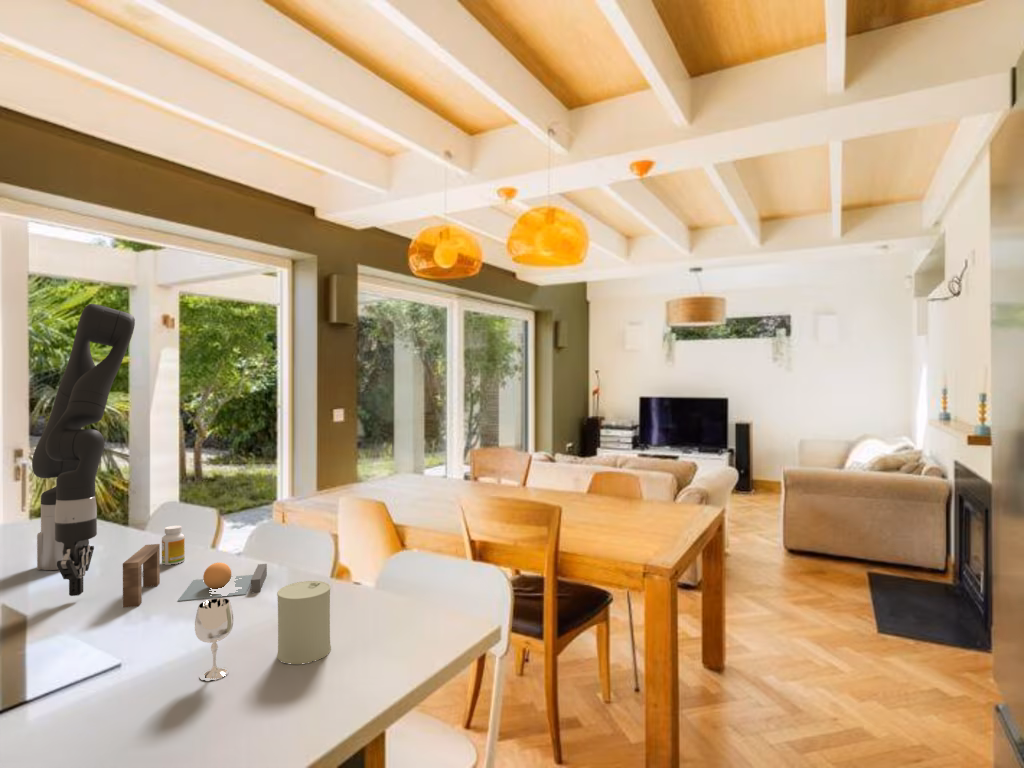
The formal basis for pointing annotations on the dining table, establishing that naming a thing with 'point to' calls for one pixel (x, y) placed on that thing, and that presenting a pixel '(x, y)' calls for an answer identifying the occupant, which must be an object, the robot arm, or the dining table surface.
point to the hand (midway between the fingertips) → (76, 594)
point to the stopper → (258, 578)
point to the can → (303, 622)
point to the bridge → (140, 574)
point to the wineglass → (214, 628)
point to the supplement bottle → (173, 546)
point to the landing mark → (202, 591)
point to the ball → (217, 575)
